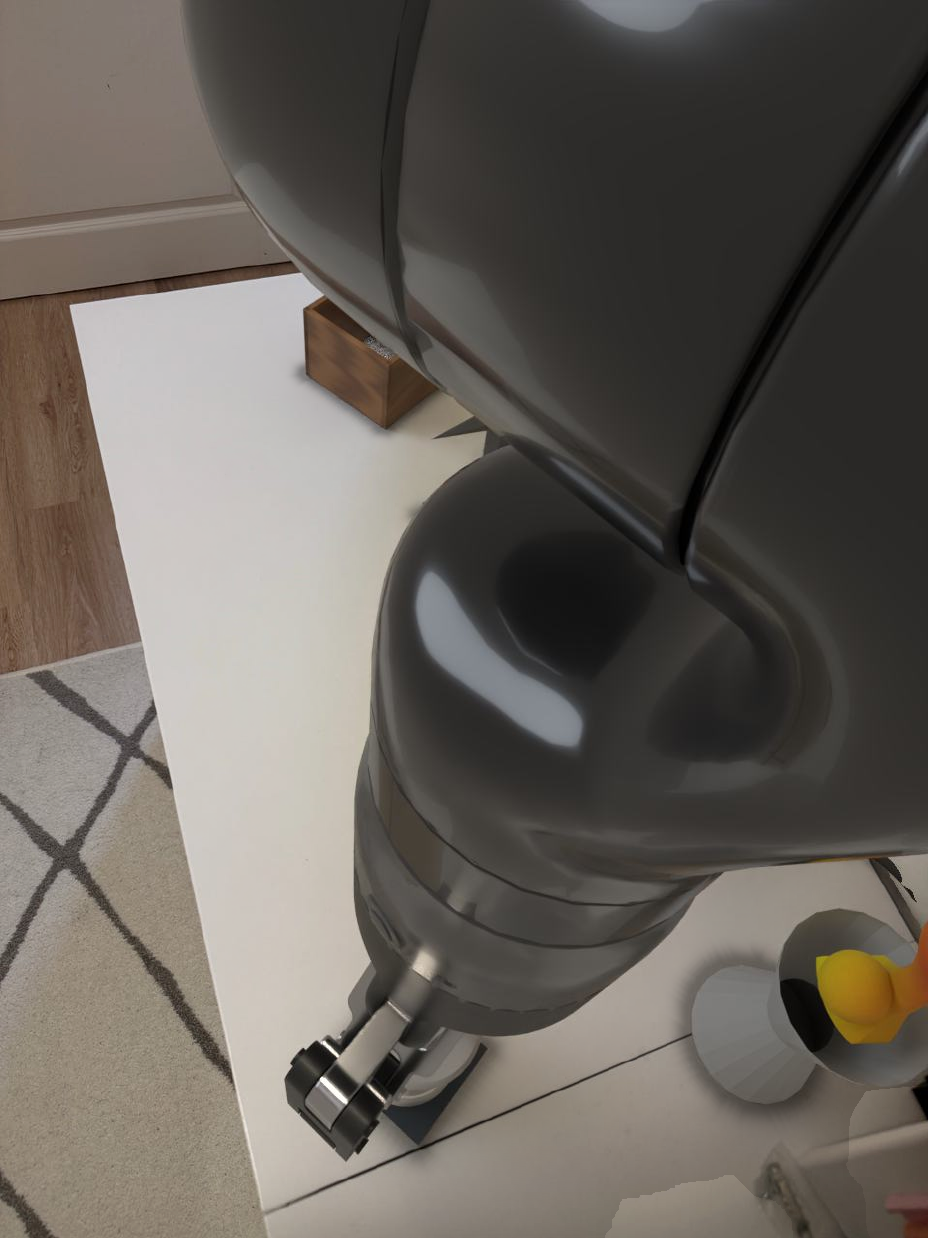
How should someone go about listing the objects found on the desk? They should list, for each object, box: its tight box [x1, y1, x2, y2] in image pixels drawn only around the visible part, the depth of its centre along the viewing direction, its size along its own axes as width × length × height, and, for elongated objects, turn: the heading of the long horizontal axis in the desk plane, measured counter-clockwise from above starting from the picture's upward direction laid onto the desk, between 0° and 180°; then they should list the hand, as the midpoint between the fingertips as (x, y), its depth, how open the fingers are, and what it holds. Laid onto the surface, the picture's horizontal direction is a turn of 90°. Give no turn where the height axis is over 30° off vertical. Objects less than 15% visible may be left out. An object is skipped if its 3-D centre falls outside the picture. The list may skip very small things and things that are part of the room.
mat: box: [381, 1041, 488, 1146], centre depth 57 cm, size 7×7×1 cm
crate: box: [302, 294, 439, 430], centre depth 87 cm, size 11×10×8 cm
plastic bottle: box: [391, 1033, 483, 1107], centre depth 49 cm, size 6×7×20 cm
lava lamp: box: [691, 907, 928, 1105], centre depth 46 cm, size 9×9×35 cm
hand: (451, 973), depth 34 cm, fingers open, 8 cm apart
